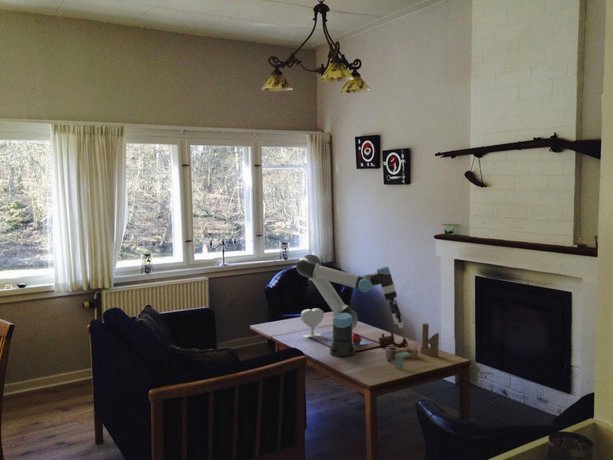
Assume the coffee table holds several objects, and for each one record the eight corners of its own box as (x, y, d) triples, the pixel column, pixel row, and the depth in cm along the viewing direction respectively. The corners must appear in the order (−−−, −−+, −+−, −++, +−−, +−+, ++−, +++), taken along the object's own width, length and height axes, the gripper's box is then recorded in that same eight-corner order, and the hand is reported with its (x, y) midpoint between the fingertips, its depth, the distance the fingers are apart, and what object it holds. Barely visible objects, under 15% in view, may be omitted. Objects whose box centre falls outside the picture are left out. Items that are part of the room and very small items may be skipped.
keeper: (395, 367, 301) (395, 354, 300) (405, 364, 305) (405, 351, 304) (400, 369, 297) (401, 356, 297) (410, 366, 302) (410, 353, 301)
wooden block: (434, 357, 318) (435, 327, 316) (420, 352, 326) (420, 323, 325) (438, 356, 320) (439, 326, 319) (424, 351, 329) (424, 322, 327)
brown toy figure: (407, 345, 331) (405, 329, 335) (380, 349, 335) (378, 333, 338) (408, 346, 337) (406, 330, 340) (381, 350, 341) (379, 334, 344)
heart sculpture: (320, 333, 368) (320, 307, 366) (324, 335, 363) (324, 308, 362) (300, 336, 361) (300, 309, 360) (303, 338, 357) (303, 311, 355)
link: (387, 359, 315) (387, 350, 314) (385, 355, 322) (385, 346, 321) (418, 359, 315) (418, 350, 314) (415, 355, 322) (415, 347, 321)
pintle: (387, 361, 310) (387, 349, 310) (387, 360, 312) (387, 348, 312) (391, 361, 310) (391, 349, 310) (390, 360, 312) (390, 348, 312)
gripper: (399, 292, 315) (409, 327, 315) (391, 288, 340) (400, 320, 340) (387, 296, 315) (397, 331, 315) (380, 291, 340) (389, 323, 340)
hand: (399, 325), depth 328 cm, fingers open, 13 cm apart
